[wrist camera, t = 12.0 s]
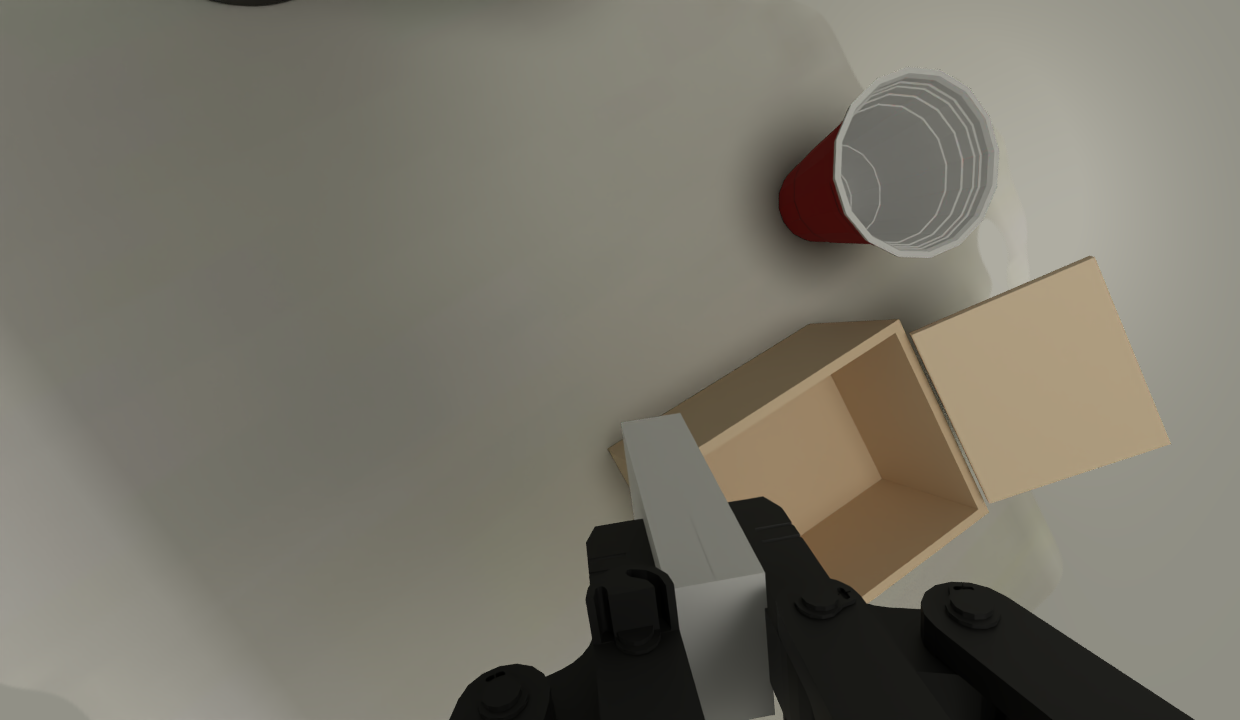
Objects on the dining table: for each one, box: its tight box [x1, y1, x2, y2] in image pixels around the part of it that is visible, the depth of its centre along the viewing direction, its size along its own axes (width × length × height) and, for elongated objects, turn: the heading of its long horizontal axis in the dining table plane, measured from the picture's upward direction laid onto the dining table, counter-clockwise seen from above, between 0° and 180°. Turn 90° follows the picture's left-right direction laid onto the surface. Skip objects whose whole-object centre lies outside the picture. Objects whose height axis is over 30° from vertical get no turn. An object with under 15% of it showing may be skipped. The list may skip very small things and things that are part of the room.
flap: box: [910, 256, 1171, 503], centre depth 37 cm, size 12×1×10 cm
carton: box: [608, 319, 989, 604], centre depth 42 cm, size 14×18×10 cm
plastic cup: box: [779, 67, 999, 258], centre depth 42 cm, size 11×11×12 cm
